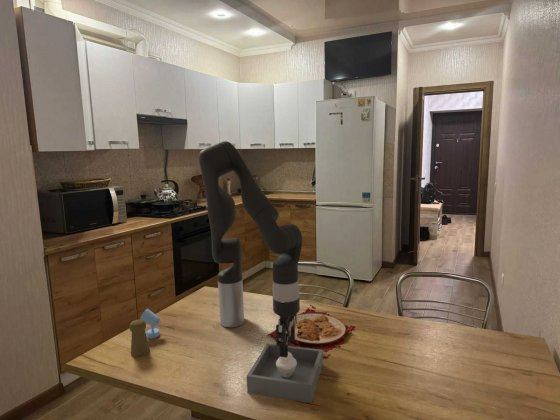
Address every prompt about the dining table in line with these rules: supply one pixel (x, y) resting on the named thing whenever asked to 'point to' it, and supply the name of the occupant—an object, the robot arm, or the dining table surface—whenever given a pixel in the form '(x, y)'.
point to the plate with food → (318, 330)
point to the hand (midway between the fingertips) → (287, 348)
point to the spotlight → (153, 320)
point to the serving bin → (273, 384)
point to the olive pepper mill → (139, 338)
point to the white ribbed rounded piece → (286, 365)
